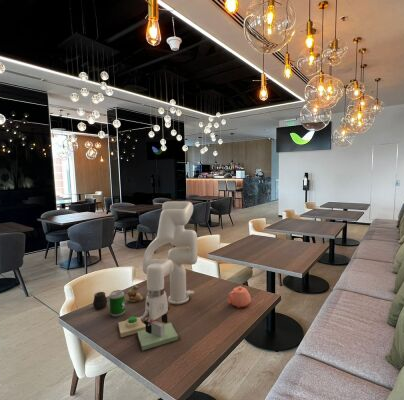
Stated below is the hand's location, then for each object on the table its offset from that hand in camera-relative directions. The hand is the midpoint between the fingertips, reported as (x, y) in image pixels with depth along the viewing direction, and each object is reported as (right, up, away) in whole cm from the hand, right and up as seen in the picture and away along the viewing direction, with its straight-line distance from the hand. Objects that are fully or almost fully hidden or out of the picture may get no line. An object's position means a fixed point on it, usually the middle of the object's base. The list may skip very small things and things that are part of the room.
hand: (156, 327), depth 122 cm
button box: (-14, -5, +8) cm, 17 cm away
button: (-14, -1, +8) cm, 16 cm away
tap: (0, -3, +1) cm, 3 cm away
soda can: (-27, -3, +22) cm, 35 cm away
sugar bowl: (+39, -2, +31) cm, 50 cm away
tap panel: (0, -5, +1) cm, 5 cm away
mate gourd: (-39, -3, +29) cm, 49 cm away
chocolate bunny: (-22, -2, +37) cm, 43 cm away
